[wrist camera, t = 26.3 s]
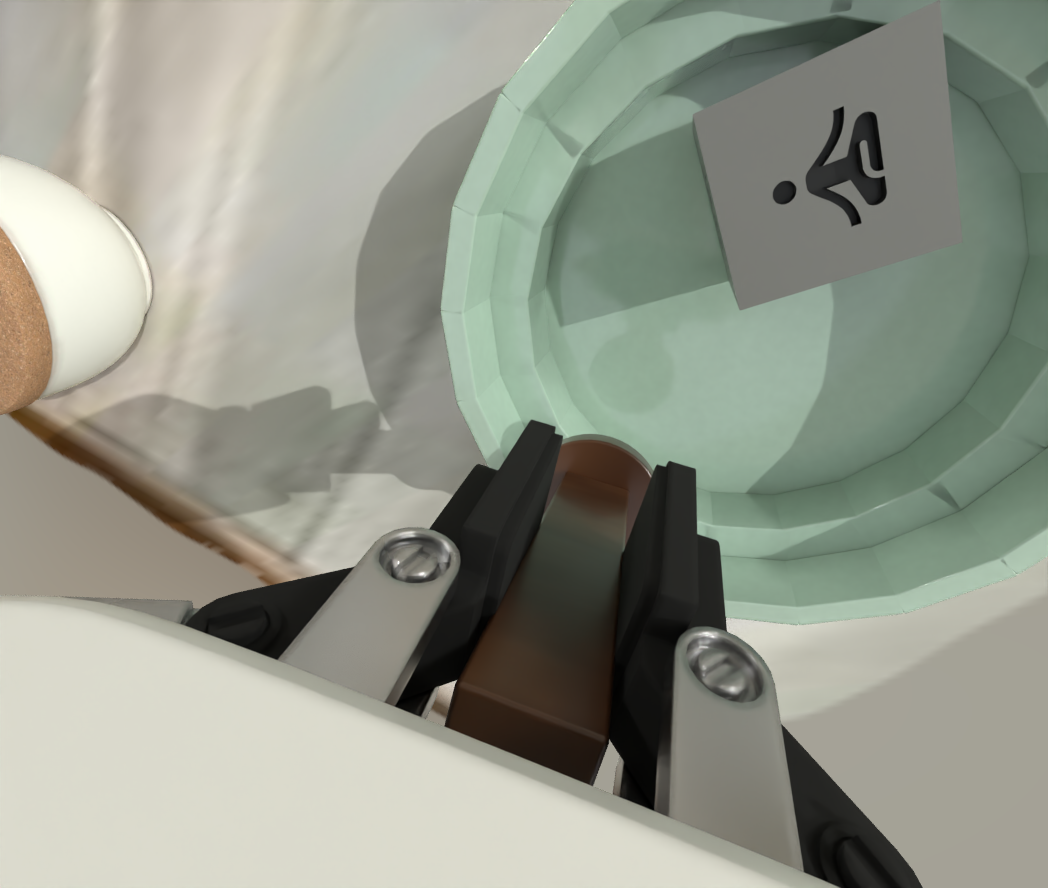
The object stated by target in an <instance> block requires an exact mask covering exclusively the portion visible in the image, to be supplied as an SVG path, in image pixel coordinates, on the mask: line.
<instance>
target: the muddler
mask: <svg viewBox="0 0 1048 888" xmlns="http://www.w3.org/2000/svg"><path fill="white" fill-rule="evenodd" d="M653 472H654V471H653V469H652V468H651V466H650V464H649V463H648V462H647V461H646V459H645V458H644V457H643V456H642V455H641V454H640V453H639V452H638V451H637V450H635V449H634V448H633V447H631V446H630V445H628V444H626V443H625V442H623V441H621V440H618V439H616V438H613V437H610V436H605V435H600V434H581V435H575V436H571V437H568V438H565V439H563V440H562V444H561V448H560V452H559V456H558V460H557V464H556V467H555V471H554V475H553V479H552V483H551V487H550V490H549V494H548V498H547V502H546V506H545V510H544V513H543V517H542V521H541V524H540V526H539V528H538V530H537V532H536V534H535V536H534V538H533V540H532V542H531V544H530V546H529V548H528V550H527V552H526V554H525V556H524V558H523V560H522V562H521V564H520V566H519V568H518V570H517V572H516V574H515V576H514V578H513V580H512V581H511V583H510V585H509V587H508V589H507V591H506V593H505V595H504V597H503V599H502V601H501V603H500V605H499V607H498V609H497V611H496V613H495V615H492V616H491V617H490V619H489V621H488V622H487V624H486V626H485V628H484V630H483V632H482V634H481V636H480V638H479V640H478V642H477V644H476V645H475V647H474V649H473V651H472V653H471V655H470V657H469V659H468V661H467V663H466V665H465V667H464V668H463V670H462V672H461V674H460V676H459V678H458V680H457V682H456V684H455V687H454V691H453V695H452V699H451V703H450V707H449V710H448V714H447V718H446V722H445V726H444V727H447V728H449V729H452V730H454V731H457V732H459V733H462V734H464V735H467V736H469V737H472V738H474V739H477V740H479V741H482V742H484V743H487V744H489V745H492V746H494V747H496V748H499V749H501V750H504V751H506V752H509V753H511V754H514V755H516V756H519V757H521V758H524V759H526V760H529V761H531V762H534V763H536V764H539V765H541V766H544V767H546V768H549V769H551V770H554V771H556V772H559V773H561V774H564V775H566V776H568V777H571V778H573V779H576V780H578V781H581V782H583V783H586V784H588V785H591V786H593V784H594V782H595V779H596V776H597V774H598V771H599V768H600V766H601V763H602V760H603V757H604V755H605V752H606V749H607V747H608V744H609V733H610V721H611V709H612V696H613V684H614V672H615V659H614V658H615V646H616V635H617V623H618V611H619V599H620V587H621V575H622V564H623V552H624V549H625V546H626V544H627V541H628V538H629V536H630V533H631V530H632V528H633V525H634V522H635V520H636V517H637V514H638V512H639V509H640V506H641V504H642V501H643V498H644V496H645V493H646V490H647V488H648V485H649V482H650V480H651V477H652V474H653Z"/></svg>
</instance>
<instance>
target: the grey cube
mask: <svg viewBox="0 0 1048 888" xmlns="http://www.w3.org/2000/svg"><path fill="white" fill-rule="evenodd" d="M693 136H694V140H695V144H696V148H697V152H698V156H699V160H700V165H701V169H702V173H703V177H704V181H705V185H706V189H707V193H708V198H709V202H710V206H711V210H712V214H713V218H714V222H715V226H716V231H717V235H718V239H719V243H720V247H721V251H722V255H723V259H724V264H725V268H726V272H727V276H728V280H729V283H730V286H731V289H732V291H733V294H734V297H735V299H736V302H737V305H738V307H739V310H744V309H747V308H750V307H753V306H757V305H760V304H763V303H766V302H770V301H773V300H776V299H780V298H783V297H786V296H789V295H793V294H796V293H799V292H802V291H806V290H809V289H812V288H815V287H819V286H822V285H825V284H828V283H832V282H835V281H838V280H841V279H845V278H848V277H851V276H854V275H858V274H861V273H864V272H867V271H871V270H874V269H877V268H880V267H884V266H887V265H890V264H893V263H897V262H900V261H903V260H907V259H910V258H913V257H916V256H920V255H923V254H926V253H929V252H933V251H936V250H939V249H942V248H946V247H949V246H952V245H955V244H959V243H962V242H963V240H962V229H961V219H960V208H959V197H958V187H957V176H956V165H955V155H954V144H953V133H952V123H951V112H950V101H949V91H948V80H947V70H946V59H945V48H944V38H943V27H942V16H941V6H940V0H938V1H936V2H934V3H932V4H929V5H927V6H925V7H923V8H921V9H919V10H916V11H914V12H912V13H910V14H908V15H906V16H903V17H901V18H899V19H897V20H895V21H893V22H891V23H888V24H886V25H884V26H882V27H880V28H878V29H875V30H873V31H871V32H869V33H867V34H865V35H863V36H860V37H858V38H856V39H854V40H852V41H850V42H847V43H845V44H843V45H841V46H839V47H837V48H835V49H832V50H830V51H828V52H826V53H824V54H822V55H819V56H817V57H815V58H813V59H811V60H809V61H806V62H804V63H802V64H800V65H798V66H796V67H794V68H791V69H789V70H787V71H785V72H783V73H781V74H778V75H776V76H774V77H772V78H770V79H768V80H766V81H763V82H761V83H759V84H757V85H755V86H753V87H750V88H748V89H746V90H744V91H742V92H740V93H737V94H735V95H733V96H731V97H729V98H727V99H725V100H722V101H720V102H718V103H716V104H714V105H712V106H709V107H707V108H705V109H703V110H701V111H699V112H697V113H694V114H693Z"/></svg>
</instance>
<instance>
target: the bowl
mask: <svg viewBox="0 0 1048 888" xmlns="http://www.w3.org/2000/svg"><path fill="white" fill-rule="evenodd" d="M936 1H938V0H574V2H573V3H572V4H571V5H570V7H569V8H568V9H567V10H566V12H565V13H564V14H563V15H562V16H561V18H560V19H559V20H558V21H557V23H556V24H555V25H554V26H553V27H552V29H551V30H550V31H549V32H548V34H547V35H546V36H545V37H544V39H543V40H542V41H541V42H540V43H539V45H538V46H537V47H536V48H535V50H534V51H533V52H532V53H531V55H530V56H529V57H528V58H527V59H526V61H525V62H524V63H523V64H522V66H521V67H520V68H519V69H518V70H517V72H516V73H515V74H514V75H513V77H512V78H511V79H510V80H509V82H508V83H507V84H506V85H505V86H504V88H503V89H502V91H501V92H502V93H500V94H499V96H498V98H497V101H496V103H495V106H494V108H493V110H492V113H491V115H490V117H489V120H488V122H487V124H486V127H485V129H484V132H483V134H482V136H481V139H480V141H479V143H478V146H477V148H476V151H475V153H474V155H473V158H472V160H471V162H470V165H469V167H468V170H467V172H466V174H465V177H464V179H463V181H462V184H461V186H460V188H459V191H458V193H457V196H456V198H455V200H454V203H453V205H454V206H453V207H452V211H451V220H450V229H449V237H448V246H447V255H446V264H445V272H444V281H443V290H442V299H441V307H440V309H441V310H442V311H441V318H442V324H443V329H444V335H445V341H446V346H447V352H448V358H449V363H450V369H451V375H452V380H453V386H454V392H455V398H456V401H457V405H458V407H459V409H460V411H461V413H462V415H463V417H464V419H465V421H466V423H467V425H468V427H469V429H470V431H471V433H472V435H473V437H474V439H475V441H476V443H477V445H478V447H479V449H480V451H481V453H482V455H483V457H484V459H485V461H486V463H487V465H488V467H489V468H493V469H496V470H499V468H500V467H501V465H502V464H503V462H504V461H505V459H506V457H507V456H508V454H509V453H510V451H511V450H512V448H513V446H514V445H515V443H516V442H517V440H518V439H519V437H520V436H521V434H522V432H523V431H524V429H525V428H526V426H527V425H528V423H529V421H530V420H531V419H532V420H536V421H539V422H542V423H546V424H549V425H552V426H555V427H556V430H555V433H556V434H559V435H562V436H563V439H565V438H568V437H571V436H575V435H581V434H600V435H605V436H610V437H613V438H616V439H618V440H621V441H623V442H625V443H626V444H628V445H630V446H631V447H633V448H634V449H635V450H637V451H638V452H639V453H640V454H641V455H642V456H643V457H644V458H645V459H646V461H647V462H648V463H649V464H650V466H651V468H652V469H653V471H654V469H655V467H656V465H657V464H658V465H661V466H665V467H666V465H667V463H668V461H672V462H675V463H678V464H682V465H685V466H688V467H691V468H695V469H696V492H697V534H699V535H702V536H705V537H708V538H712V539H715V540H717V541H718V542H719V545H720V553H721V566H722V578H723V591H724V603H725V616H726V618H735V619H745V620H754V621H763V622H772V623H781V624H790V625H798V624H799V625H806V624H815V623H824V622H833V621H842V620H851V619H860V618H869V617H879V616H888V615H897V614H903V612H904V613H909V612H912V611H915V610H917V609H920V608H923V607H926V606H929V605H932V604H935V603H938V602H941V601H944V600H947V599H950V598H953V597H956V596H959V595H962V594H965V593H968V592H970V591H973V590H976V589H979V588H982V587H985V586H988V585H991V584H994V583H997V582H1000V581H1003V580H1006V579H1009V578H1012V577H1015V576H1016V575H1017V574H1020V573H1022V572H1023V571H1025V570H1027V569H1028V568H1030V567H1032V566H1033V565H1035V564H1036V563H1038V562H1040V561H1041V560H1043V559H1044V558H1046V557H1048V0H940V6H941V16H942V27H943V38H944V48H945V59H946V70H947V80H948V91H949V101H950V112H951V123H952V133H953V144H954V155H955V165H956V176H957V187H958V197H959V208H960V219H961V229H962V240H963V242H962V243H959V244H955V245H952V246H949V247H946V248H942V249H939V250H936V251H933V252H929V253H926V254H923V255H920V256H916V257H913V258H910V259H907V260H903V261H900V262H897V263H893V264H890V265H887V266H884V267H880V268H877V269H874V270H871V271H867V272H864V273H861V274H858V275H854V276H851V277H848V278H845V279H841V280H838V281H835V282H832V283H828V284H825V285H822V286H819V287H815V288H812V289H809V290H806V291H802V292H799V293H796V294H793V295H789V296H786V297H783V298H780V299H776V300H773V301H770V302H766V303H763V304H760V305H757V306H753V307H750V308H747V309H744V310H739V307H738V305H737V302H736V299H735V297H734V294H733V291H732V289H731V286H730V283H729V280H728V276H727V272H726V268H725V264H724V259H723V255H722V251H721V247H720V243H719V239H718V235H717V231H716V226H715V222H714V218H713V214H712V210H711V206H710V202H709V198H708V193H707V189H706V185H705V181H704V177H703V173H702V169H701V165H700V160H699V156H698V152H697V148H696V144H695V140H694V136H693V114H694V113H697V112H699V111H701V110H703V109H705V108H707V107H709V106H712V105H714V104H716V103H718V102H720V101H722V100H725V99H727V98H729V97H731V96H733V95H735V94H737V93H740V92H742V91H744V90H746V89H748V88H750V87H753V86H755V85H757V84H759V83H761V82H763V81H766V80H768V79H770V78H772V77H774V76H776V75H778V74H781V73H783V72H785V71H787V70H789V69H791V68H794V67H796V66H798V65H800V64H802V63H804V62H806V61H809V60H811V59H813V58H815V57H817V56H819V55H822V54H824V53H826V52H828V51H830V50H832V49H835V48H837V47H839V46H841V45H843V44H845V43H847V42H850V41H852V40H854V39H856V38H858V37H860V36H863V35H865V34H867V33H869V32H871V31H873V30H875V29H878V28H880V27H882V26H884V25H886V24H888V23H891V22H893V21H895V20H897V19H899V18H901V17H903V16H906V15H908V14H910V13H912V12H914V11H916V10H919V9H921V8H923V7H925V6H927V5H929V4H932V3H934V2H936Z"/></svg>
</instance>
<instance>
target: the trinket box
mask: <svg viewBox="0 0 1048 888" xmlns="http://www.w3.org/2000/svg"><path fill="white" fill-rule="evenodd" d="M151 300H152V280H151V275H150V270H149V267H148V264H147V261H146V259H145V256H144V254H143V252H142V250H141V248H140V246H139V244H138V243H137V241H136V239H135V238H134V237H133V235H132V234H131V232H130V231H129V230H128V229H127V227H126V226H125V225H124V224H123V223H122V222H121V221H120V220H119V219H118V218H117V217H116V216H115V215H113V214H112V213H111V212H109V211H108V210H107V209H105V208H103V207H101V206H100V205H98V204H97V203H96V202H95V201H93V200H92V199H91V198H90V197H88V196H87V195H86V194H84V193H83V192H82V191H80V190H79V189H78V188H76V187H75V186H73V185H72V184H70V183H68V182H66V181H65V180H63V179H61V178H59V177H58V176H56V175H54V174H52V173H51V172H49V171H46V170H44V169H41V168H39V167H36V166H34V165H31V164H29V163H26V162H23V161H21V160H18V159H16V158H12V157H8V156H4V155H1V154H0V415H2V414H5V413H9V412H11V411H14V410H17V409H20V408H22V407H25V406H27V405H30V404H32V403H33V402H34V401H35V400H38V399H41V398H45V397H47V396H50V395H53V394H55V393H58V392H61V391H63V390H66V389H69V388H71V387H74V386H76V385H78V384H80V383H82V382H84V381H86V380H88V379H91V378H93V377H94V376H96V375H97V374H99V373H101V372H102V371H104V370H105V369H107V368H108V367H110V366H111V365H112V364H114V363H115V362H116V361H117V360H118V359H120V358H121V357H122V356H123V355H124V354H125V353H126V352H127V350H128V349H129V348H130V346H131V345H132V344H133V342H134V341H135V339H136V338H137V336H138V334H139V331H140V329H141V326H142V323H143V320H144V316H145V314H146V313H147V311H148V309H149V307H150V304H151Z"/></svg>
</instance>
